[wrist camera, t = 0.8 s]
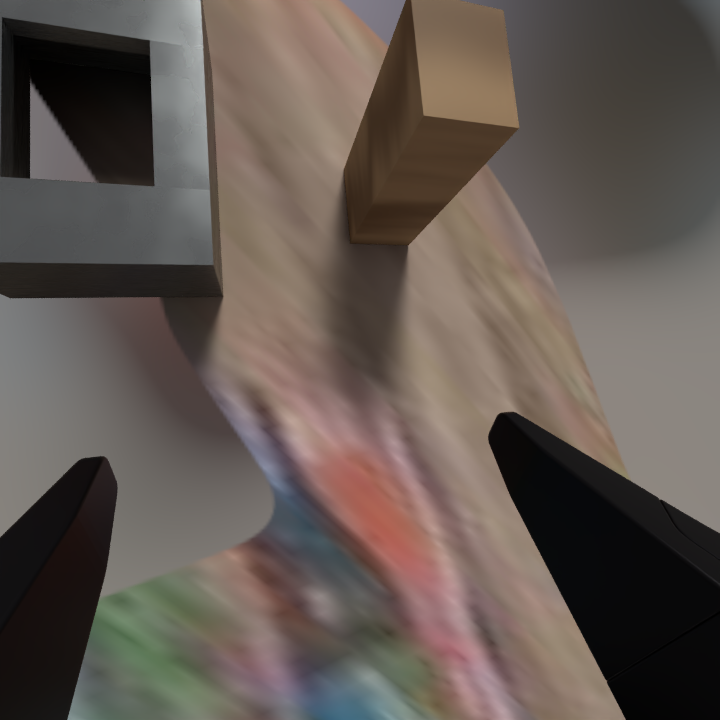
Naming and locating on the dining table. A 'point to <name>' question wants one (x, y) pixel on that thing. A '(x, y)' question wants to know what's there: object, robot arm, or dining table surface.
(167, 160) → the grey hollow block
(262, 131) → the dining table surface
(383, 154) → the tan squared block
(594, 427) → the dining table surface
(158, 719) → the dining table surface
